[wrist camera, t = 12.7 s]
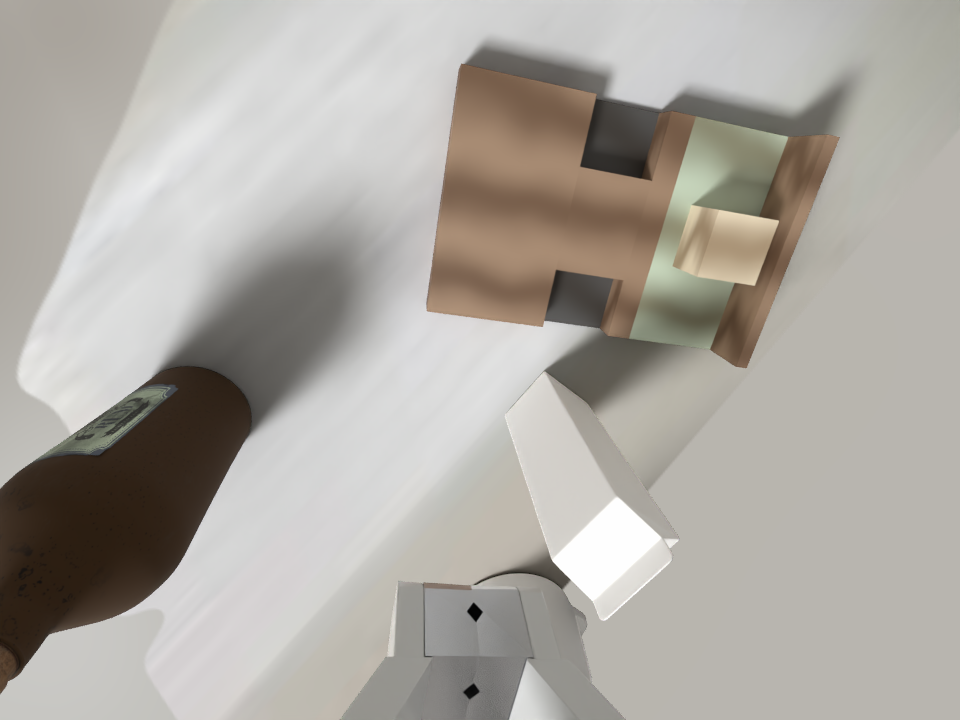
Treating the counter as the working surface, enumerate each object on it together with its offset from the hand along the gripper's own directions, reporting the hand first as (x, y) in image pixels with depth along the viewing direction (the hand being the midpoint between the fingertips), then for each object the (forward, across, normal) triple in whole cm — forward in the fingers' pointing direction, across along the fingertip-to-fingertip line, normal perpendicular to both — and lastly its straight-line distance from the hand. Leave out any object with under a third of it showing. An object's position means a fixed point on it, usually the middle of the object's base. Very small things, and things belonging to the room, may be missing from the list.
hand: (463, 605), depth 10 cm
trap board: (+34, -14, -6) cm, 37 cm away
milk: (+34, -13, +12) cm, 39 cm away
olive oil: (+34, +19, +16) cm, 42 cm away
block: (+32, -22, -6) cm, 39 cm away
